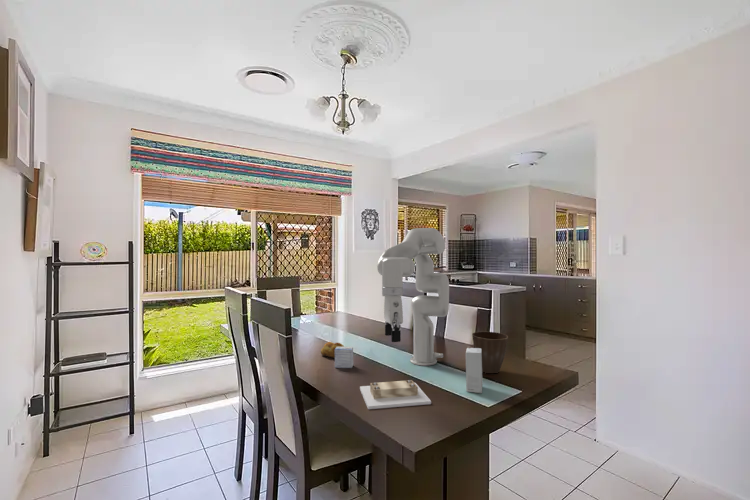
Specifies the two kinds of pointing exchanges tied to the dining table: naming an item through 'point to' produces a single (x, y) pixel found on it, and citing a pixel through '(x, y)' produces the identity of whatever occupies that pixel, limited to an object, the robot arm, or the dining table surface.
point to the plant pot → (491, 349)
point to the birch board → (393, 389)
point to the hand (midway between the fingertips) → (392, 338)
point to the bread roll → (330, 349)
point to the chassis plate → (393, 399)
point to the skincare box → (474, 370)
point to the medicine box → (343, 357)
